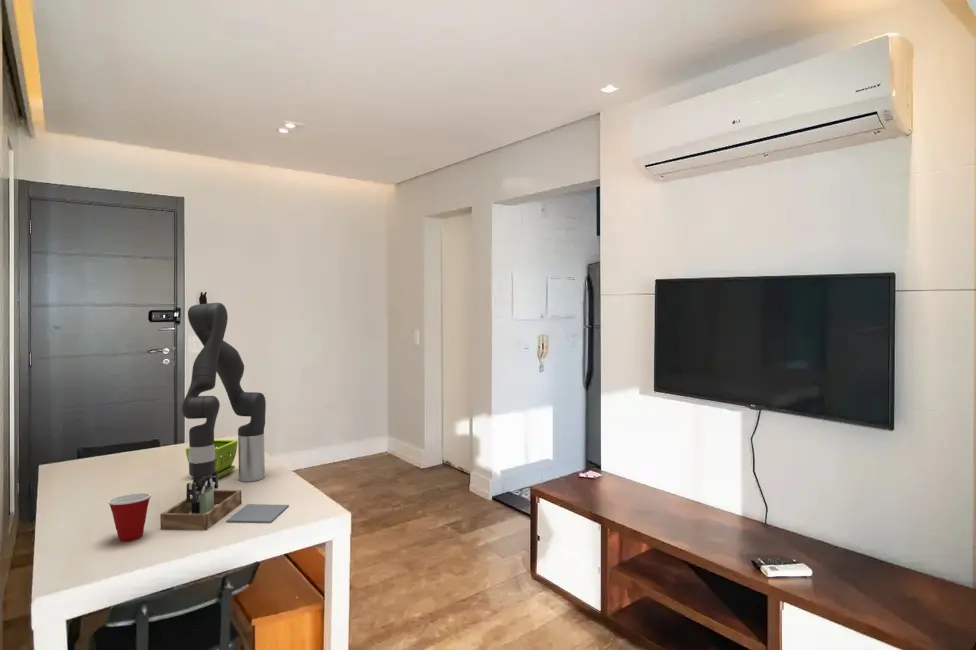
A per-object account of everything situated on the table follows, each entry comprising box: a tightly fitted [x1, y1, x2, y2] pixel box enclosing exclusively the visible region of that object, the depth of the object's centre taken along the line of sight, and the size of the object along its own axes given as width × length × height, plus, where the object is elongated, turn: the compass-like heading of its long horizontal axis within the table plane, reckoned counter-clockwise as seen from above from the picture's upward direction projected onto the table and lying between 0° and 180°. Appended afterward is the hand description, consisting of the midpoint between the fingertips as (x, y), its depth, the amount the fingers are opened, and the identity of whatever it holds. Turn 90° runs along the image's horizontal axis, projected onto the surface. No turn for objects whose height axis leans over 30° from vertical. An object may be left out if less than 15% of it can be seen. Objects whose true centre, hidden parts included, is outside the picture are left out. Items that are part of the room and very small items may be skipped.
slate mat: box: [225, 503, 290, 524], centre depth 182 cm, size 14×14×1 cm
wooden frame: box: [159, 489, 242, 531], centre depth 180 cm, size 22×14×4 cm, turn 178°
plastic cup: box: [106, 492, 152, 542], centre depth 164 cm, size 11×11×12 cm
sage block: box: [196, 489, 215, 514], centre depth 180 cm, size 4×4×8 cm
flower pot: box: [185, 439, 238, 479], centre depth 222 cm, size 14×14×13 cm
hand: (203, 509), depth 180 cm, fingers open, 8 cm apart
